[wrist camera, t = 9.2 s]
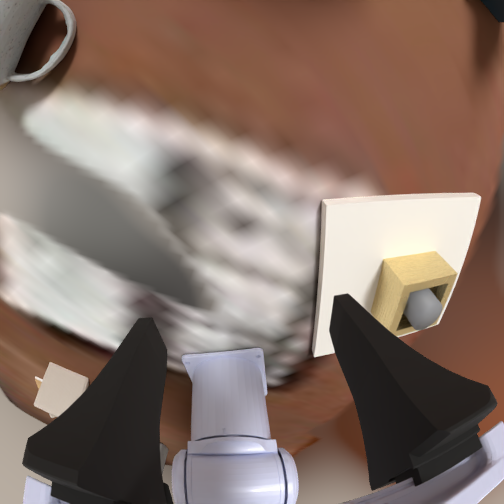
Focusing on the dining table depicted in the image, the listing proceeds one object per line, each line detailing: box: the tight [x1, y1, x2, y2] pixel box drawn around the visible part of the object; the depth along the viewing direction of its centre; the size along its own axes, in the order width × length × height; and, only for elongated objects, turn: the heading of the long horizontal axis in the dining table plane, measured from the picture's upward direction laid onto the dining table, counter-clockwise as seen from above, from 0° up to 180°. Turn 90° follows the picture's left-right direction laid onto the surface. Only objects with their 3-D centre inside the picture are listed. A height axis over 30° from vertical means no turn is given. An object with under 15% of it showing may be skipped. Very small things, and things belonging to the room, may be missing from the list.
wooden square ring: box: [371, 251, 458, 336], centre depth 20 cm, size 6×6×4 cm
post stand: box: [312, 193, 481, 357], centre depth 20 cm, size 16×16×6 cm
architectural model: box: [34, 362, 89, 418], centre depth 24 cm, size 3×7×7 cm, turn 64°
